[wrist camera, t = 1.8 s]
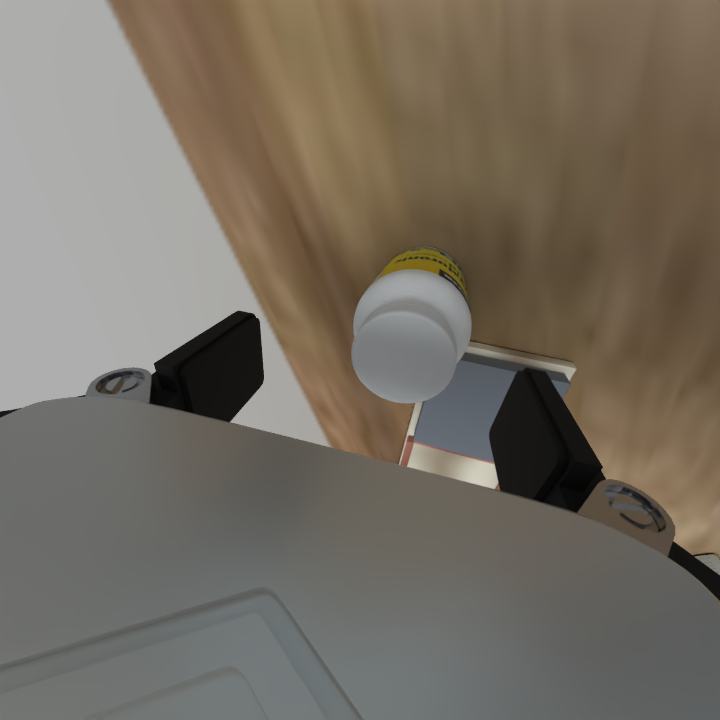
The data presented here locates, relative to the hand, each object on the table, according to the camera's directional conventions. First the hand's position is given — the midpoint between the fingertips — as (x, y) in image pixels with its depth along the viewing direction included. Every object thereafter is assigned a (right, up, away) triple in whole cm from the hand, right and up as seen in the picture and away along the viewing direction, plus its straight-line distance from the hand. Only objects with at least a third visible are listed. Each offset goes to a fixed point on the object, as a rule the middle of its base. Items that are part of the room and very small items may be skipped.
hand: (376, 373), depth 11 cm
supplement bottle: (+3, +5, +9) cm, 11 cm away
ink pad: (+8, -3, +11) cm, 14 cm away
